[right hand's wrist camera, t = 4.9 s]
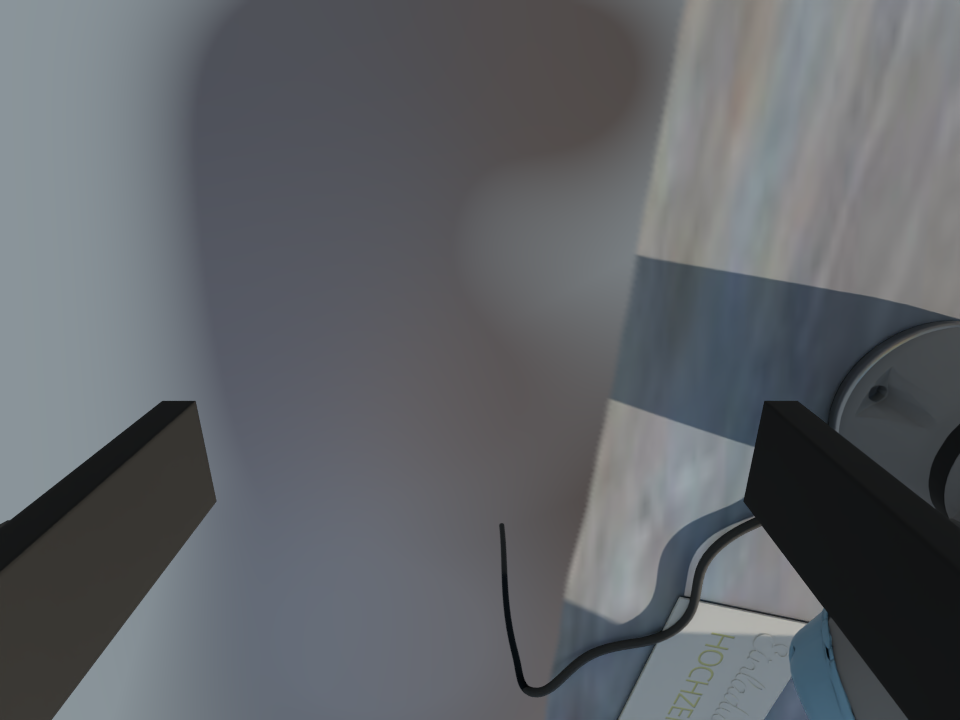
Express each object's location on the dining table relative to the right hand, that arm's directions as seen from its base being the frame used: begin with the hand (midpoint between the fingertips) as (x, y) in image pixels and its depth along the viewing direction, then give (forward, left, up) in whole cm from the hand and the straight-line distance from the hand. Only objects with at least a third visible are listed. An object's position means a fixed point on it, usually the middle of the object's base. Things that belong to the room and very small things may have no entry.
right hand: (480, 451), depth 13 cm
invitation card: (+5, -51, -29) cm, 59 cm away
